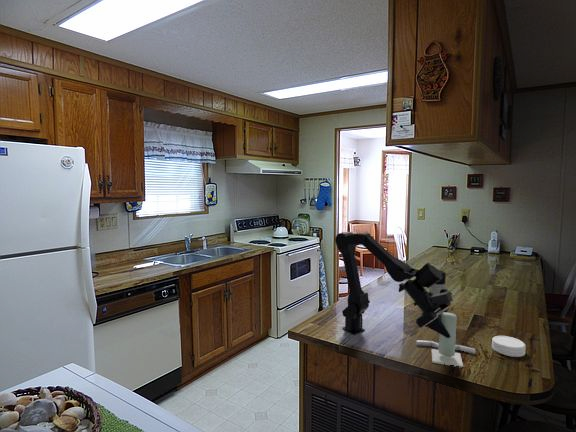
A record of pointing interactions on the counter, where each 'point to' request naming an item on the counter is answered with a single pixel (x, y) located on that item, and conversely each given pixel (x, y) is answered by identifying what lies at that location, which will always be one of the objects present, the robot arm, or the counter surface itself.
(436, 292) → the spray can
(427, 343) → the bent wire
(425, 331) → the counter surface
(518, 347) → the white thick disc
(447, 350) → the sage peg
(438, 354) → the tile
